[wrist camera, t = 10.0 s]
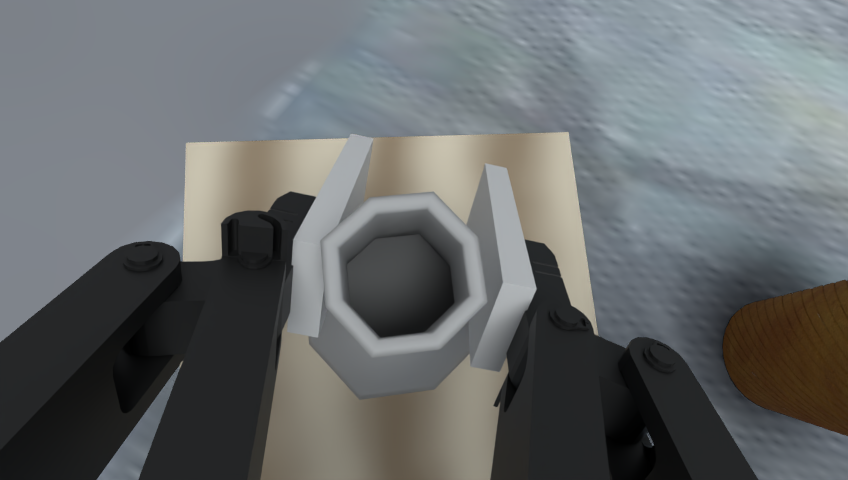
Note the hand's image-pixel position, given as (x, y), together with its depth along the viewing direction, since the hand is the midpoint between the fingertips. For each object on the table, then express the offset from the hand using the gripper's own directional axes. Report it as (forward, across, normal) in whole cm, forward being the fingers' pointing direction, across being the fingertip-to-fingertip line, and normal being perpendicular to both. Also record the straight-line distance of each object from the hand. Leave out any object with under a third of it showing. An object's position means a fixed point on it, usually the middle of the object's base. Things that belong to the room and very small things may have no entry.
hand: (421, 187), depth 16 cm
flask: (0, 0, -5) cm, 5 cm away
